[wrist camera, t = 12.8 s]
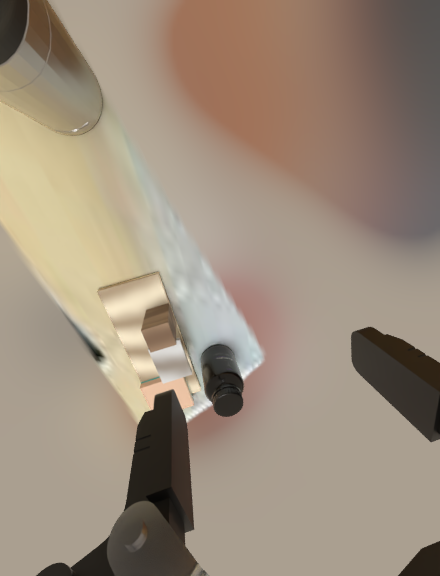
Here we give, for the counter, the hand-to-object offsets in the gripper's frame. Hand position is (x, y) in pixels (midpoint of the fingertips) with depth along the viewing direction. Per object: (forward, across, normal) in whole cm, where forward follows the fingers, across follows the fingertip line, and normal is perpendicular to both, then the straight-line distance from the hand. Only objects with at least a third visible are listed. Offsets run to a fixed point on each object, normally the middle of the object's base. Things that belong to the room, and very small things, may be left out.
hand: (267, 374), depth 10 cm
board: (+32, +12, +16) cm, 38 cm away
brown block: (+31, +9, +14) cm, 35 cm away
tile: (+30, +13, +23) cm, 40 cm away
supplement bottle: (+32, +2, +24) cm, 40 cm away
